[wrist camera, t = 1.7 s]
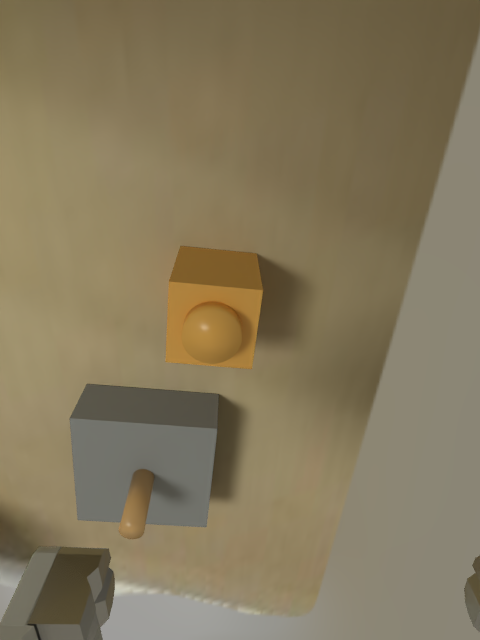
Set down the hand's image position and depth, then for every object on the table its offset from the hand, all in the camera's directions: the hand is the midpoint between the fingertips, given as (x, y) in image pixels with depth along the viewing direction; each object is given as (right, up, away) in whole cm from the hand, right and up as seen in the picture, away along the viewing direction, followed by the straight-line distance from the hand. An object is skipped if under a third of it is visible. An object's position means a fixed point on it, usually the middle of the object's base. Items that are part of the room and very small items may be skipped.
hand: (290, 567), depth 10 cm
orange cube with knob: (-3, +8, +20) cm, 22 cm away
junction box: (-8, -4, +26) cm, 28 cm away
